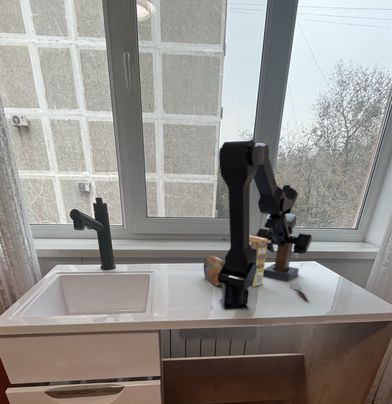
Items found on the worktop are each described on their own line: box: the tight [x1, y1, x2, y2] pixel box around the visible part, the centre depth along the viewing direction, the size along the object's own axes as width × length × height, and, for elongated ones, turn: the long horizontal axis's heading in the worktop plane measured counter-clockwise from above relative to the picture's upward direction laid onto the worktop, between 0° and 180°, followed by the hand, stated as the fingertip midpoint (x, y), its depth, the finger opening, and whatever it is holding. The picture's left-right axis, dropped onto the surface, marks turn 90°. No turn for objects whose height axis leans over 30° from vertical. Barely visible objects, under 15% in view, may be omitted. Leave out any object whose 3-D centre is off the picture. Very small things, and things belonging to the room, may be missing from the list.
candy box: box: [236, 234, 268, 287], centre depth 96 cm, size 9×4×15 cm, turn 33°
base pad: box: [263, 263, 300, 282], centre depth 107 cm, size 10×10×2 cm
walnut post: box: [274, 243, 294, 272], centre depth 104 cm, size 4×4×13 cm
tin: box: [203, 255, 225, 287], centre depth 97 cm, size 15×3×8 cm, turn 21°
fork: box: [290, 280, 309, 302], centre depth 91 cm, size 3×16×2 cm, turn 178°
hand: (285, 254), depth 105 cm, fingers open, 9 cm apart
